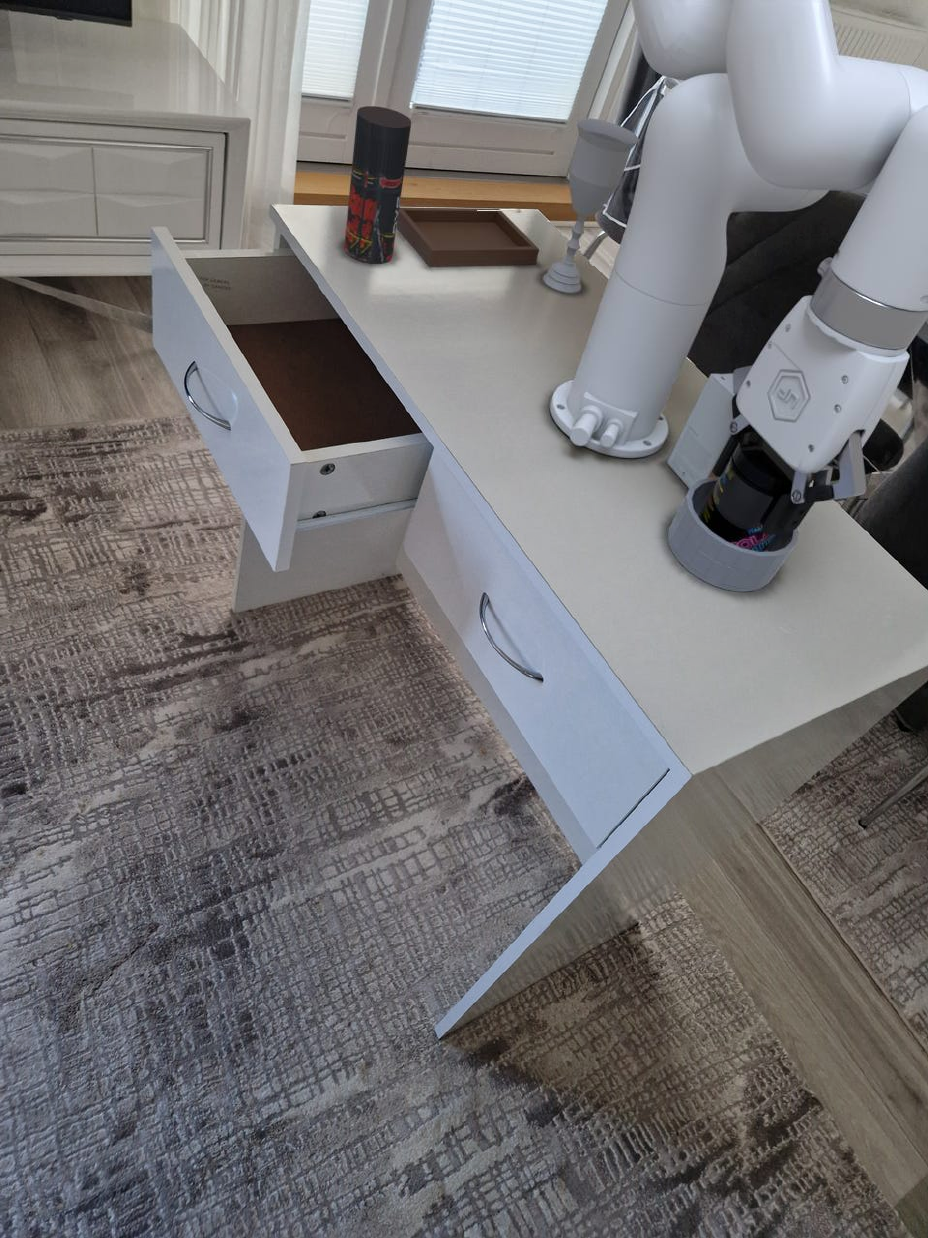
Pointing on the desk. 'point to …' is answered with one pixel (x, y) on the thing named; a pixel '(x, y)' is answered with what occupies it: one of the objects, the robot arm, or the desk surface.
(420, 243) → the walnut tray
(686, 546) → the gray bowl
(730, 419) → the small box
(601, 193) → the chalice
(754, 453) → the supplement container
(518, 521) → the desk surface
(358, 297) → the desk surface
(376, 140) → the deodorant
